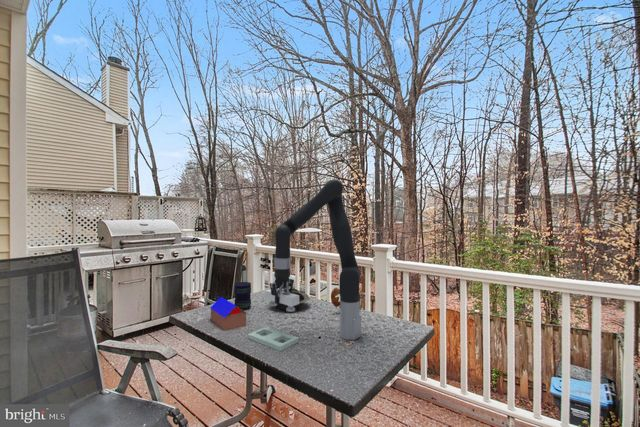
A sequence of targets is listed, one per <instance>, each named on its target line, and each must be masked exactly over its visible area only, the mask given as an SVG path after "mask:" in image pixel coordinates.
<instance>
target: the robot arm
mask: <svg viewBox="0 0 640 427" xmlns="http://www.w3.org/2000/svg"><path fill="white" fill-rule="evenodd" d="M326 181H327V180H326ZM343 191H344V186H343V183H342V181H340V180H338V179H333V178H332V179H329V180H328V181H327V182H325V184H324V185H323V187H322V188H321V189H320V190H319V191H318V193H316V194H315V195H314V196H313V197H312V198H311V199H310V200H309V201H307V202H306V203H305V204H304V205H302V206H301V207H300V208H299V209H297V211H295V212H293V214H291V215H290V217H289V218H288V219H286V220H285V221H283V223H281V224H280V225H278V226H277V228H276V229H275V231H274V232H275V249H274V250H275V252H274V253H275V254H274V255H275V256H274V273H273V275H274V276H273V277H274V278H275V279H274V282H270V283H269V289H271V295H274V296H275V303H276V304H280V292H281V291H282V290H284V292H288V293H289V292H292V289H293V286H294V282H295V280H294V279H292V278H290V277H291V247H290V246H291V243H290V242H291V235H293V234H294V233H295V232H296V231H297V230H298V229H300V228H301V227H303V226H304V225H305V224H306V223H308V221H310V220H311V219H312V218H313V217H314V216H315V215H316V214H317V213H318V212H319V211H320V210H321V209H322V208H323V207H324V206H326V205H327V207H328V212H329V223H330V231H331V236H332V240H333V242H334V243H333V244H334V246H335V249H336V250H337V253H338V255H339V259H340V266H341V272H340V273H339V280H338V281H339V282H338V283H339V284H338V285H339V289H340V294H339V302H340V306H339V337H340V338H342V339H343V340H347V341H348V340H352V341H355V340H357V339H359V338H361V337H362V316H361V315H360V304H361V302H360V300H361V299H360V297H361V296H360V279H361V272H360V269H359V265H358V263H357V260H356V254H355V250H354V249H355V248H354V241H353V233H352V228H351V225H350V221H349V218H348V216H347V213H346V211H345V208H344V202H343ZM277 292H278V293H277Z"/></svg>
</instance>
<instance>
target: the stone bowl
mask: <svg viewBox="0 0 640 427" xmlns="http://www.w3.org/2000/svg"><path fill="white" fill-rule="evenodd" d="M282 291H284V290H283V289H282ZM289 293H292V294H296V295H299V304H298V305H295V306H293V307H294V308H295V311H296V310H299V309H300V308H301V307H302V306H303V305H304V303H306V302H308V301H309V300H310V297H309V294H307V293H304V292H301V291H300V290H298V289H295V288H292V292H289ZM287 307H288V305H285V304H281V303H280V304H277V306H275V308H276V309H277V310H280V311H286V308H287Z"/></svg>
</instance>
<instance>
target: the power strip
mask: <svg viewBox="0 0 640 427" xmlns="http://www.w3.org/2000/svg"><path fill="white" fill-rule="evenodd" d="M277 293H278V292H277ZM264 294H265V295H264V298H265V300H269V302H268V306H269V307H276V306H277V304H276V303H275V296H274V295H271V289H270V288H269V289H267V290H265V291H264ZM280 303H281V304H285V305H288V307H287V308H286V310H285V311H286V312H295V311H296V310H295V308H294V307H293V306H295V305H298V304H299V295H296V294H292V293H288V292H284V291H281V292H280Z"/></svg>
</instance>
